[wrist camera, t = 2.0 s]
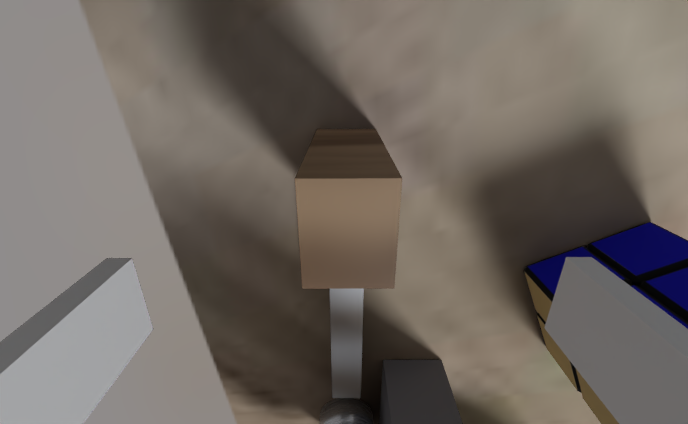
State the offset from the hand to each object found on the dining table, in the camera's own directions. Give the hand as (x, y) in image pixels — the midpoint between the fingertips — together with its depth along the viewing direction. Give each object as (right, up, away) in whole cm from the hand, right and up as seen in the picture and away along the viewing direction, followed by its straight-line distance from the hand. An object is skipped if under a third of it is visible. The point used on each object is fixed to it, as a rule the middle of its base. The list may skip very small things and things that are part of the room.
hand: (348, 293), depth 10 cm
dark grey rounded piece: (0, -19, +24) cm, 30 cm away
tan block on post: (0, -2, +17) cm, 17 cm away
